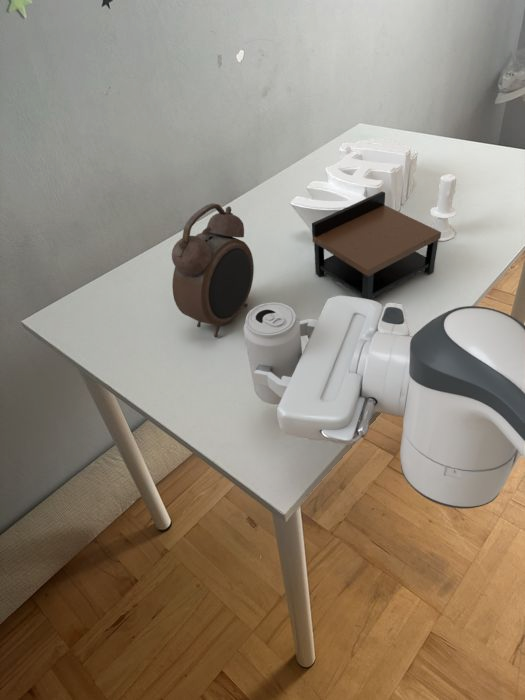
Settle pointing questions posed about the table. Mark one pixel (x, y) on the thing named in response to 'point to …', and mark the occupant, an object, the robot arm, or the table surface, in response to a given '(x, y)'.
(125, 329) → the table surface
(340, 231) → the miniature side table
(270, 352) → the beverage can
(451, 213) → the candle
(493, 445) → the robot arm
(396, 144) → the wavy white extrusion
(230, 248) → the alarm clock
